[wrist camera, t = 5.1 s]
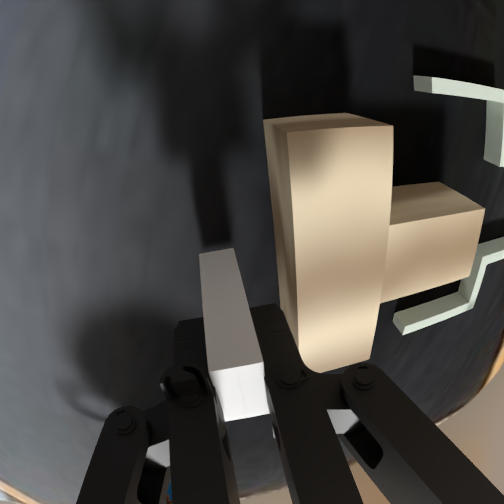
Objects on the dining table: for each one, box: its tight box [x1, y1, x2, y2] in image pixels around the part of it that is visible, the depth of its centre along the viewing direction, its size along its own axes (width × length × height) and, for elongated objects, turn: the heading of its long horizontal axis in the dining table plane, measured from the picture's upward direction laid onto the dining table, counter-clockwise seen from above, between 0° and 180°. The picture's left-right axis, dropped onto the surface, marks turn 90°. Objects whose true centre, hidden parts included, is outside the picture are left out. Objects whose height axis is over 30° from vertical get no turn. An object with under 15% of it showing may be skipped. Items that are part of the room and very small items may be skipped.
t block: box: [263, 113, 485, 373], centre depth 15 cm, size 12×10×4 cm
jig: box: [393, 76, 504, 335], centre depth 17 cm, size 16×13×2 cm
